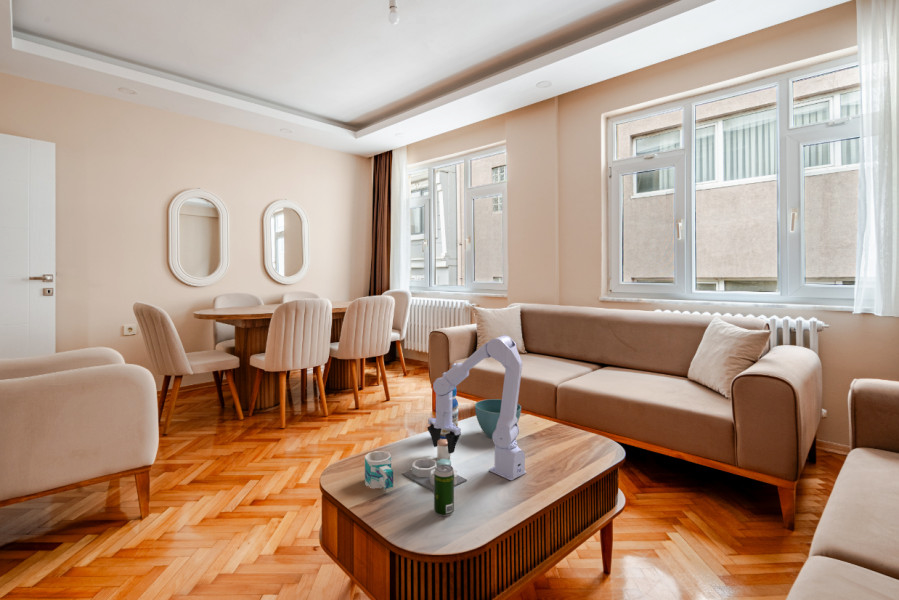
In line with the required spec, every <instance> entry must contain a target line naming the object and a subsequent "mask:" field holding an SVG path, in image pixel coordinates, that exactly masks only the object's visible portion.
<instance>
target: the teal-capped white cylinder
mask: <svg viewBox="0 0 899 600" xmlns="http://www.w3.org/2000/svg"><path fill="white" fill-rule="evenodd" d="M436 461H437V462H436V467H437V466H439V465H450V466H452V461H451V459H450V460H448V459H440V460H438V459H437V460H436Z"/></svg>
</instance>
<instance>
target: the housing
mask: <svg viewBox="0 0 899 600" xmlns="http://www.w3.org/2000/svg"><path fill="white" fill-rule="evenodd" d="M437 461H438V460H435V459H432V458H425V457H424V458H418V459H416V460H413V461H412V464H411V469H409V470H407V471H404V472H402V475H403V476H404V475H405V477H406V478H409V480H411V479H412V480H411V481H413V480H414V481H413V482H415V481H416V482H415V483H417V484H418V485H421V486H422V487H424V488H426V489H427V490H429V491H431V492H433V493H434V471H435V468H436V462H437ZM453 471H454V488H455V487H457V486H459V485H462V484H463V483H466V482H467V480H468V479H467V478H465V477H463V476H461V475H458V470H455V469H454V468H453Z"/></svg>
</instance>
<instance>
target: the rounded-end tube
mask: <svg viewBox="0 0 899 600" xmlns="http://www.w3.org/2000/svg"><path fill="white" fill-rule="evenodd" d="M436 448H437V452H436V453H437V455H436V456H437V458H436V459H437V461H438V460H440V459H448V460H450V461H451V454H449V453H448V443H447V439H440V440H438V441H437V447H436Z"/></svg>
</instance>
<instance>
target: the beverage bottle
mask: <svg viewBox="0 0 899 600" xmlns="http://www.w3.org/2000/svg"><path fill="white" fill-rule="evenodd" d="M457 393H458V391H457V386H456V387H455V389H454V390H453V392H452V423H453V424H455V425H456V426H457V427H459V408H458V407H459V402H458V400H457V398H456V396H457ZM448 433H450V432H449V431H447V430H444V429H441V434H440V439H446V436H445V434H448Z"/></svg>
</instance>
